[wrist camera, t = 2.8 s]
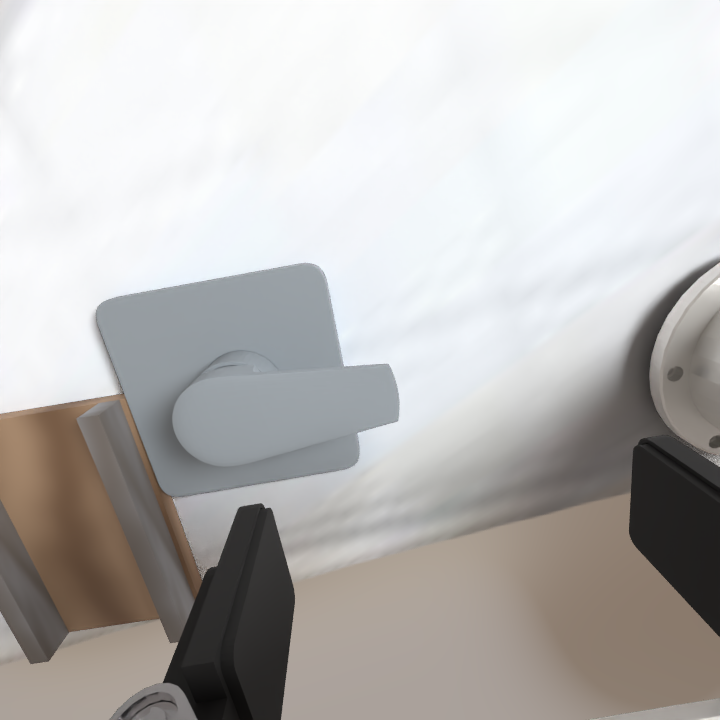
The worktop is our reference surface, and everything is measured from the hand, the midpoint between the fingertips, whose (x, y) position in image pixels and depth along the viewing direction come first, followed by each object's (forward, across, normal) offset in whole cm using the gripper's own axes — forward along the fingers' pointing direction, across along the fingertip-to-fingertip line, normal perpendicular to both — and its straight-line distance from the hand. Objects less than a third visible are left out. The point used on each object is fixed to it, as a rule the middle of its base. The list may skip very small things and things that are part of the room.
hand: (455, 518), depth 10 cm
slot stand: (+14, +21, +8) cm, 26 cm away
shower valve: (+11, 0, 0) cm, 11 cm away
